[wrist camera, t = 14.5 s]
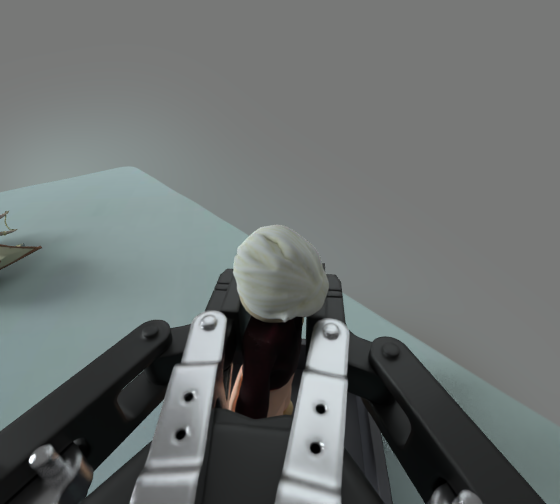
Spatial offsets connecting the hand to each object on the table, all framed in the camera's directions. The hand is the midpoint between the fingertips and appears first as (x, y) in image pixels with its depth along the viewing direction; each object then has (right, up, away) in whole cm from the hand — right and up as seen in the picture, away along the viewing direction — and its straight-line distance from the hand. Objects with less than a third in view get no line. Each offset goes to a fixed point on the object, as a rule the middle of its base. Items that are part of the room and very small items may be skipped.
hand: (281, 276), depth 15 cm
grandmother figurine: (-1, -9, +3) cm, 9 cm away
